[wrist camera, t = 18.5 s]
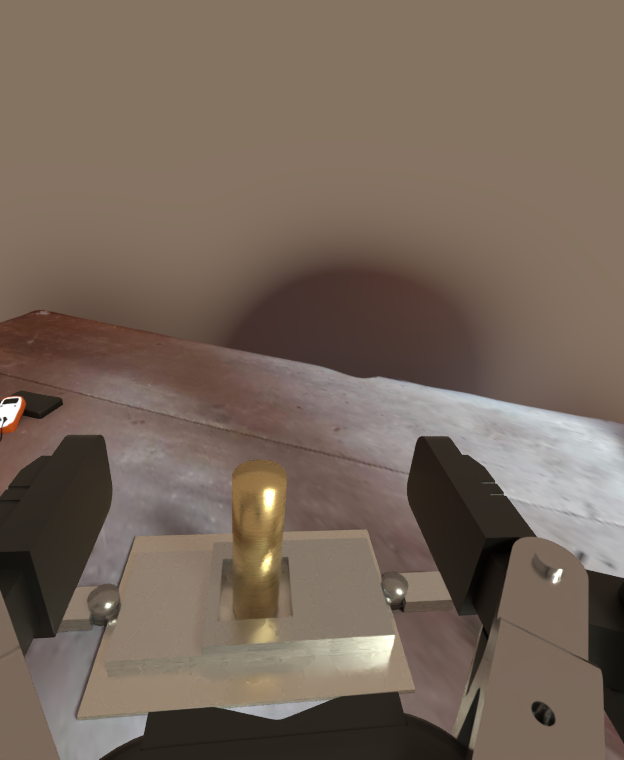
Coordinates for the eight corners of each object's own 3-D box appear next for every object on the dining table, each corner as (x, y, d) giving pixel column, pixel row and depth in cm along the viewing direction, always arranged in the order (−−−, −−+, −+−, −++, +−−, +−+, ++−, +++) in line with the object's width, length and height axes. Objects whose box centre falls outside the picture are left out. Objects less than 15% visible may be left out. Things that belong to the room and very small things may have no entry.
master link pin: (223, 611, 37) (221, 483, 31) (248, 576, 40) (250, 453, 34) (264, 632, 36) (270, 502, 29) (286, 593, 39) (295, 469, 33)
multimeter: (-25, 486, 49) (-33, 462, 48) (-104, 462, 52) (-114, 438, 50) (90, 413, 65) (87, 393, 63) (25, 398, 68) (21, 378, 66)
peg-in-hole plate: (-15, 727, 29) (-25, 707, 28) (75, 540, 43) (71, 522, 42) (485, 686, 33) (493, 667, 32) (417, 530, 48) (421, 514, 47)
